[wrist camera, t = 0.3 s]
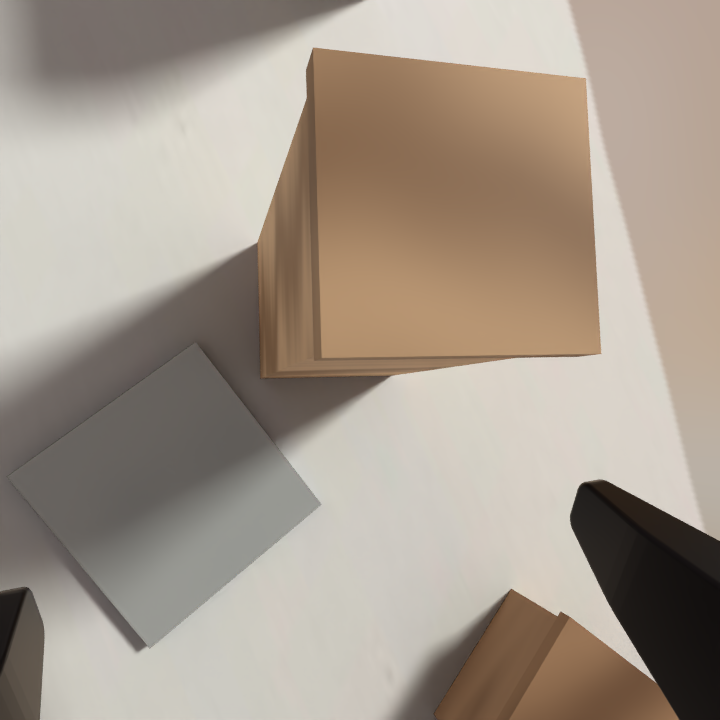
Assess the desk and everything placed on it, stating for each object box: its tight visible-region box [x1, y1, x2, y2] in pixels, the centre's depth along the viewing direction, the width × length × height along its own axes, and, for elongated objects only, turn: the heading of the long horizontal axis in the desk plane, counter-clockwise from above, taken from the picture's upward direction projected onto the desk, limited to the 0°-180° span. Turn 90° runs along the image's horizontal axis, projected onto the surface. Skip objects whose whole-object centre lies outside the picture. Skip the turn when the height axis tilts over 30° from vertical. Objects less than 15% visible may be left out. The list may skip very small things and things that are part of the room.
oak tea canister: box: [257, 48, 601, 378], centre depth 19 cm, size 6×6×14 cm
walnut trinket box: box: [434, 589, 679, 720], centre depth 24 cm, size 6×6×5 cm
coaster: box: [7, 342, 321, 648], centre depth 23 cm, size 8×8×1 cm
